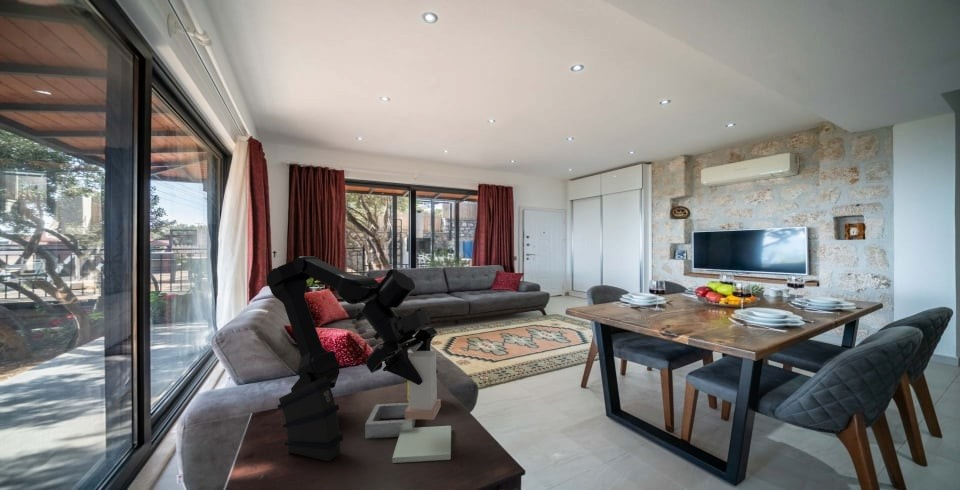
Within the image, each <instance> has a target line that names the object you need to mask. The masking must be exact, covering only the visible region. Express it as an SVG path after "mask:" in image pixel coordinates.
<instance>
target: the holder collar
mask: <svg viewBox="0 0 960 490" xmlns="http://www.w3.org/2000/svg"><path fill="white" fill-rule="evenodd" d="M408 406H409V403H408V402H398V403H397V402H396V403H393V402H392V403H377V404H375V405H374V407H373V408H372V411H371V412H370V414H369V417H368V419H367V420H366V422H365V425H364V434H365V435H364V437H365V439H377V438H378V439H380V438H397V437H398V438H399V435H400V432H407V431H412V429H413V428H415V426H416V425H415V424H416V420H417V419H405V410H406V409H407V407H408ZM401 418H402V419H401ZM403 418H404V419H403ZM381 419H382V420H381ZM383 419H389V420H383Z"/></svg>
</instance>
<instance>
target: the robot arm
mask: <svg viewBox="0 0 960 490" xmlns="http://www.w3.org/2000/svg"><path fill="white" fill-rule="evenodd" d="M311 278H313V279H314V280H317V282H318V281H319V282H321V283H323V284H325V285H326V286H329V287H331V288H332V289H334V290H335V291H336V292H337V295H338V297H339V298H341V299H342V300H343V301H344V302H346V303H347V304H348V305H358V304H364V303H365V304H364V306H363V307H359V308H357V309H356V310H357V313H356V316H355V321H356V322H359V321H363V320H366V321H367V322H368V324H369V325H370V326H371V327H372V329H373V330H374V331H375V334H374V335H373V338H374V339H375V340H381V342H382V343H379V344H377V346H375V348H374V349H373V351H372V352H371V353H370V354H369V355H368V356H367V357H366V359H365V362H366V363H365V366H366V368H367V369H368V370H369V372H370V373H371V374H373V373H375V372H377V371H379V370H381V369H382V371H383V372H389V373H391V374H394V375H396V376H399V377H401V378H403V379H405V380H406V381H407V380H409V381H411V382H413V383H415V384H417V385H420V384H421V383H422V382H423V381H422V379H421V377H420V375H419V374H418V372H417V371H416V369H415V368H414V366H413V364H412V363H411V361H410V360H409V358H408V357H409V350H411V352H412V354H413V353H414V352H415V351H432V350H431V343H432V341H433V339H434V338H435V337H436V336H437V334H438V332H437V330H436V329H435V328H434V326H427V325H429V324H431V322H430V319H431V315H432V314H431V312H430V311H429V310H428V309H426V308H425V307H424V306H420V307H418V308H417V309H415V310H414V312H411V313H409V314H408V315H406V316H405V315H404V314H400V315H398V314H397V313H396V311H395V310H394V309H396V308H397V309H398V308H399V307H401V305H402V304H403V303H404V302H405V301H406V299H407V298H408V297H409V296H410V294H411V293H412V292H413V291H414V290H415V289H416V284H415V281H414V280H413V279H412V278H411V277H408V276H407V275H406V274H404V273H403V272H399V270H398V269H397V268H393V269H392V268H391V269H389V270H388V271H387V272H386V275H385V276H384V277H383V279H382V280H381V281H380V282H378V281H377V279H376V278H374V277H371V276H367V275H364V274H363V275H362V274H361V275H360V274H354V273H353V274H352V273H349V272H347V271H344V270H342V269H341V268H338V267H336V266H334V265H332V264H329V263H327V262H325V261H323V260H321V259H320V258H319V257H317V256H313V255H312V256H311V255H309V256H308V255H307V256H305V255H304V256H303V255H302V256H299V257H296V258H295V259H293V260H292V261H290V262H287V263H284V264H282V265H279V266H277V267H275V268H272V269H271V270H270V271H269V273H268V274H267V277H266V283H267V286H268V287H269V290H270V292H271V294H272V296H274V297H275V298H276V299H277V300H278V301H280V302H281V303H282V304H283V307H284V309H285V312H286V315H287V318H288V322H289V324H290V327H291V330H292V333H293V336H294V338H295V342H296V345H297V348H298V350H299V353H300V356H301V357H300V362H299V364H298V365H299V366H298V369H297V372H298V377H299V379H298V380H297V381H296V382H295V383H294V384H293V385H292V387H290V391H291V392H293V391H295V390H297V389H299V388H301V387H303V386H305V385H308V384H310V383H312V382H314V381H316V380H318V379H320V378H323V377H325V376H326V377H327V380H328V381H330V380H331V382H332V384H331V385H329V386H330V388H331V389H334V388H336V384H337V380H338V377H339V375H340V368H339V367H340V365H341V364H340V363H339V362H338V359H337V356H336V353H335V351H334V350H331V351H328V350H326V349H325V348H324V347H323V345H322V342H321V339H320V336H319V334H318V330H317V328H316V325H315V322H314V319H313V316H312V314H311V311H310V308H309V305H308V302H307V300H306V297H305V296H306V292H307V288H308V283H307V281H308V280H310V279H311ZM393 308H394V309H393ZM425 325H426V327H424V328H421V327H423V326H425ZM419 328H420V329H419ZM383 361H384V365H385V366H384V367H383ZM438 373H439V370H438V367H436V375H437V374H438ZM291 392H290V393H291Z"/></svg>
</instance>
